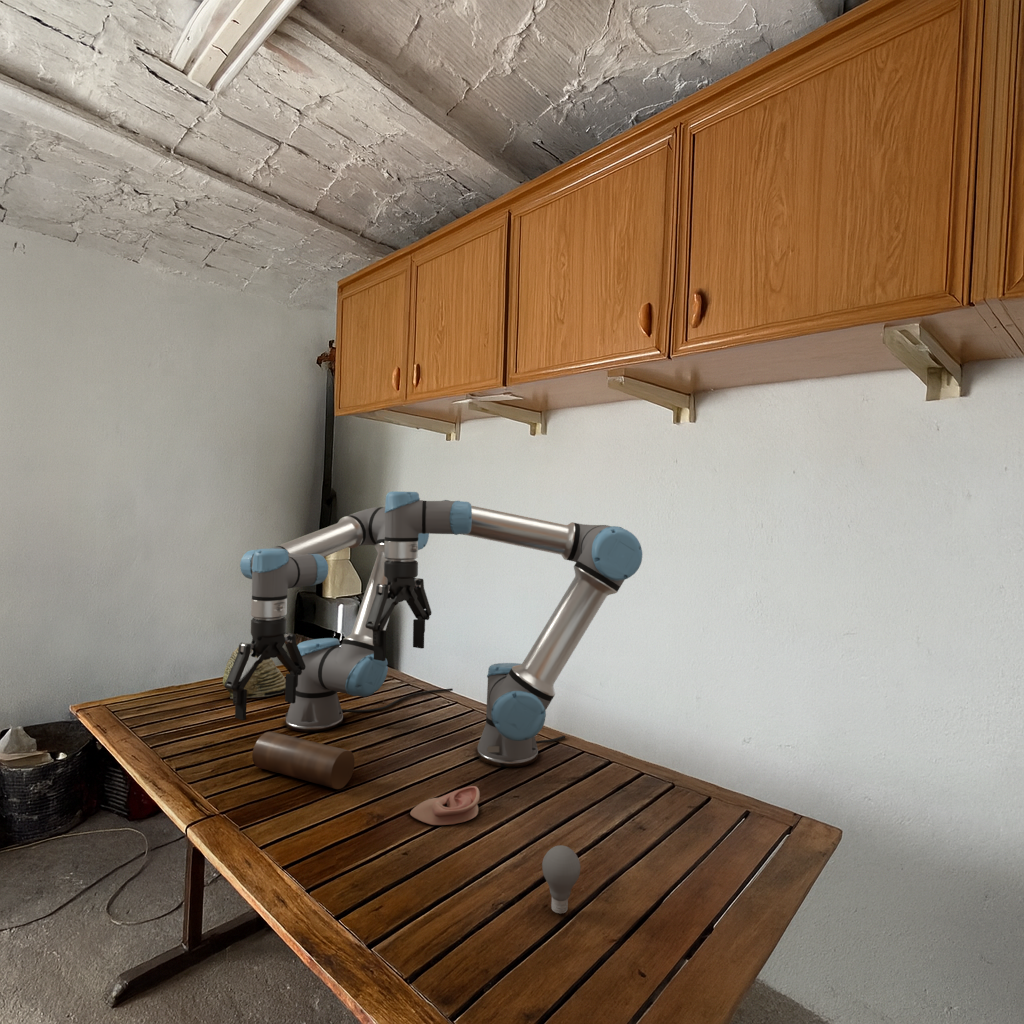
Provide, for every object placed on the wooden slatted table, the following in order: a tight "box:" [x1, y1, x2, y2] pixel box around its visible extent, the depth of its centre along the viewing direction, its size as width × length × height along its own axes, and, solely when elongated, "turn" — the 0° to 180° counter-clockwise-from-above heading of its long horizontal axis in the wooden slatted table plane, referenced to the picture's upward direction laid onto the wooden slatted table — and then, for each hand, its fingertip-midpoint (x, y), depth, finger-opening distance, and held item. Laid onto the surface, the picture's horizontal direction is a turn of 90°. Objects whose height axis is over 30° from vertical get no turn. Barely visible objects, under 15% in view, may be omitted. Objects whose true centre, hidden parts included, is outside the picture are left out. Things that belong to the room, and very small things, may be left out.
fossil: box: [222, 646, 286, 699], centre depth 198 cm, size 9×18×15 cm, turn 132°
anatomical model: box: [409, 785, 481, 826], centre depth 129 cm, size 13×4×12 cm
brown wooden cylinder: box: [251, 731, 356, 790], centre depth 143 cm, size 22×8×8 cm, turn 66°
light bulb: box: [541, 844, 581, 914], centre depth 99 cm, size 6×6×10 cm
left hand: (266, 710), depth 144 cm, fingers open, 13 cm apart
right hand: (399, 653), depth 143 cm, fingers open, 13 cm apart
